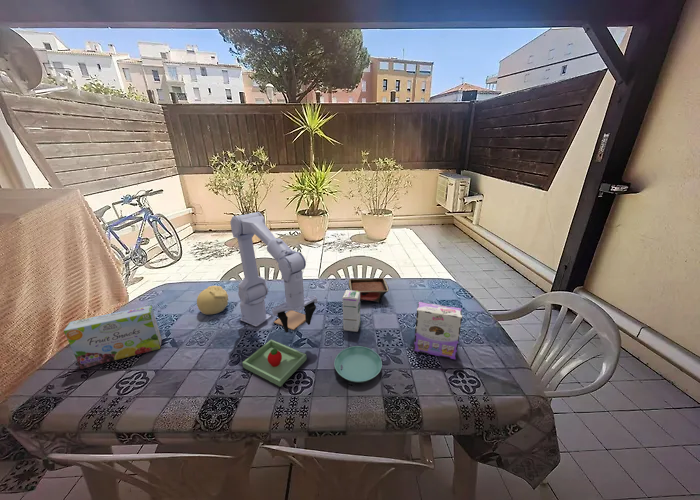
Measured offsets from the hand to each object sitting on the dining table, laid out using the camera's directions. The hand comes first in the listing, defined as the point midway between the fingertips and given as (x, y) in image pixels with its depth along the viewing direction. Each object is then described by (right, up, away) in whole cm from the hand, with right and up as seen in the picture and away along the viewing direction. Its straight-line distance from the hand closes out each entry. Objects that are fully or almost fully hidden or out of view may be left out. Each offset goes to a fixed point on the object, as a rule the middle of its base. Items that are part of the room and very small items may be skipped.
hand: (297, 326), depth 90 cm
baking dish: (+26, +3, +36) cm, 44 cm away
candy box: (+46, -9, +3) cm, 47 cm away
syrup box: (+18, -4, +15) cm, 24 cm away
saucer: (+20, -12, -5) cm, 24 cm away
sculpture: (-41, -1, +27) cm, 48 cm away
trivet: (-6, -3, +19) cm, 20 cm away
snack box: (-59, -10, +2) cm, 59 cm away
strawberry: (-6, -11, -3) cm, 13 cm away
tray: (-6, -11, -3) cm, 13 cm away
